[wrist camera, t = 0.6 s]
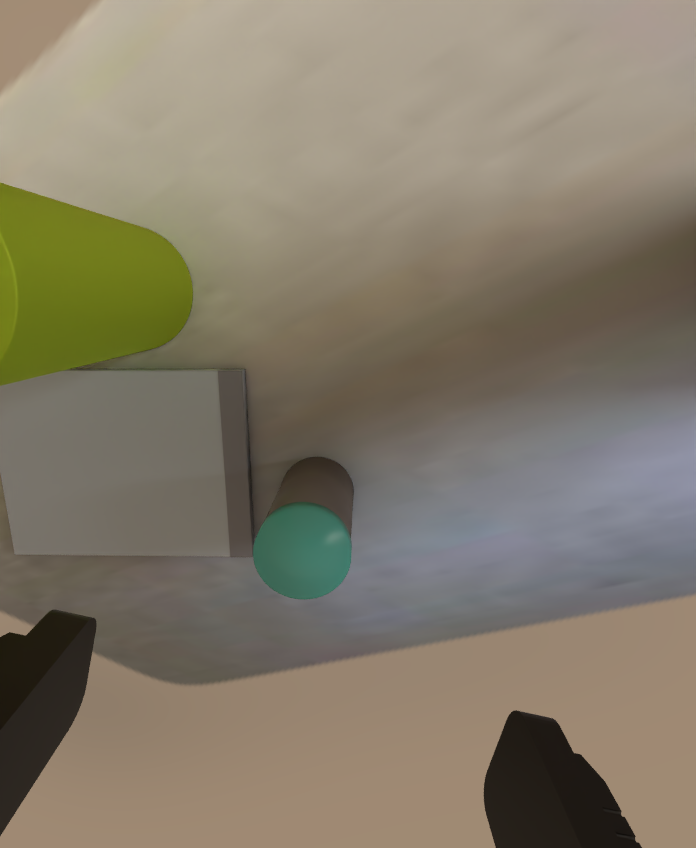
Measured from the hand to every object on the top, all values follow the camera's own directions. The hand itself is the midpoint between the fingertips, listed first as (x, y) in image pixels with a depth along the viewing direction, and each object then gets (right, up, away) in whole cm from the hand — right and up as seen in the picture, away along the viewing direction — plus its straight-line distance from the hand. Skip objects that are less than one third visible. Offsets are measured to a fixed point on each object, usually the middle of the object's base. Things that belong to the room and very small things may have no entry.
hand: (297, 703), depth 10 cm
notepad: (-11, +3, +17) cm, 21 cm away
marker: (-1, +2, +18) cm, 18 cm away
